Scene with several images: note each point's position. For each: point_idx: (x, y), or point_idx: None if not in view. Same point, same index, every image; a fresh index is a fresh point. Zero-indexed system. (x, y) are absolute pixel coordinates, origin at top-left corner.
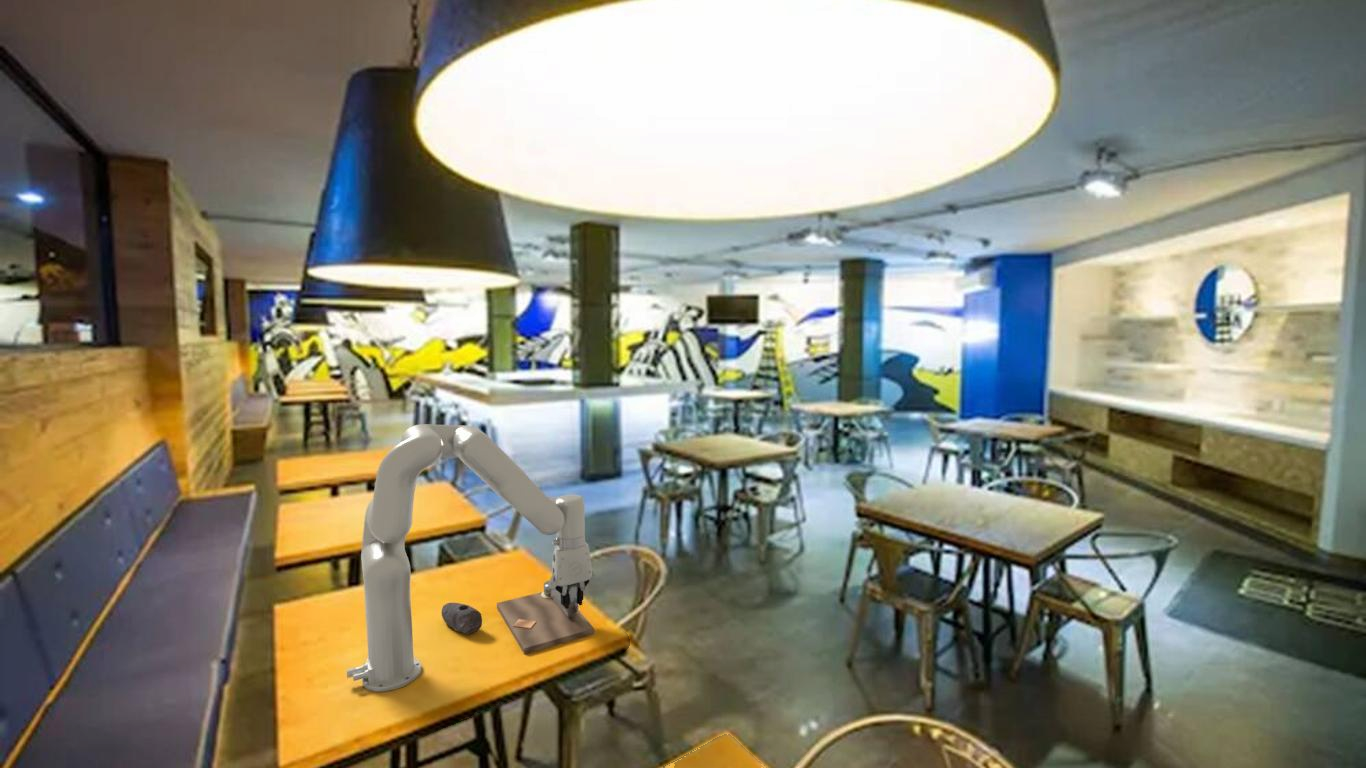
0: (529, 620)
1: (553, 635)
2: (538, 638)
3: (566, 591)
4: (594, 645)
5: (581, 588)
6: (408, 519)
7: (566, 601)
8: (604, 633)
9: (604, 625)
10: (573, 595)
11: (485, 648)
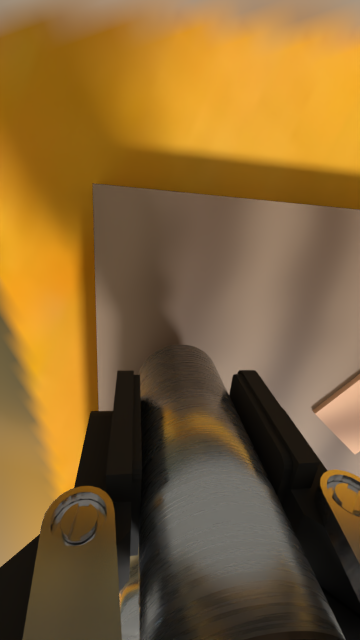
0: (331, 429)
1: (326, 255)
2: None
3: (334, 516)
4: (152, 39)
5: (99, 527)
6: None
7: (280, 410)
8: (34, 149)
9: (3, 243)
10: (220, 448)
11: None
